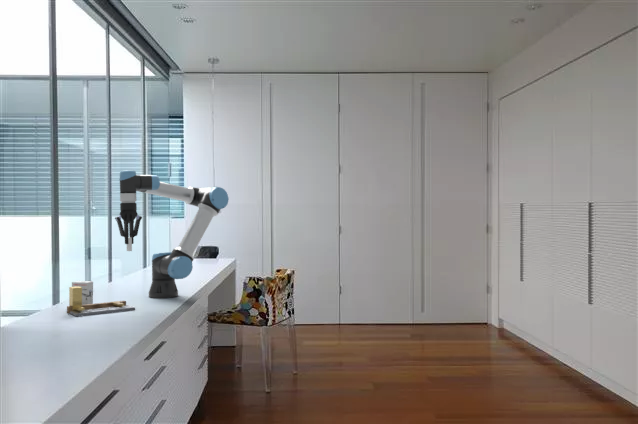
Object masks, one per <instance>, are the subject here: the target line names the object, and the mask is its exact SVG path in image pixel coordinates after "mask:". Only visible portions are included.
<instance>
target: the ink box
mask: <svg viewBox="0 0 638 424" xmlns="http://www.w3.org/2000/svg"><path fill="white" fill-rule="evenodd" d="M78 286H79V287H82V305H85V304H94V281H92V280H75V281H72V282H71V287H78Z"/></svg>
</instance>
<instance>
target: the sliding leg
mask: <svg viewBox="0 0 638 424" xmlns="http://www.w3.org/2000/svg"><path fill="white" fill-rule="evenodd" d="M68 288H69V289H68V290H69V293H68V294H69V295H68V296H69V297H68V298H69V301H68V303H69V304H68V306H72V311H78V310H79V311H82V310H85V308H83V307H82V287H79V286H78V287H72V286H69V287H68Z"/></svg>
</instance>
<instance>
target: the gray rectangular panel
mask: <svg viewBox="0 0 638 424" xmlns="http://www.w3.org/2000/svg"><path fill="white" fill-rule="evenodd" d="M129 310H131V311H135V310H136V307H135V306H133V305H132V306H131V305H129V304H126V305H125V306H122V307H119V306H116V307H106V308H97V309H88V310H82V311H79V310H78V311H70V313H69V314H70V315H72V316H74V317H85V316H93V315H102V314H111V313H112V312H113V313H119V311H122V312H130V311H129ZM113 313H112V314H113Z"/></svg>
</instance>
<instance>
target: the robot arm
mask: <svg viewBox="0 0 638 424" xmlns="http://www.w3.org/2000/svg"><path fill="white" fill-rule="evenodd" d="M118 181H119V201H120V204H119V206H120V207H119V210H120V212H119V215H118V216H115V217H114V219H115V221H116V224H117V227H118V231H119V235H120V237H123V238H124V245H126V252H133V244H134V243H135V241H134V237H137V236H138V233H139V230H140V225H141V224H140V223H141V220H142V219H143V217H142V216H140V215H139V214H138V211H137V210H138V209H137V203H136V202H137V192H139V193H145V194H149V195H154V196H159V197H162V198H168V199H171V200H177V201H182V202H184V203H185V204H187V205H190V206H194V207H197V208H198V210H197V212H196V214H195V215H194V217H193V219H192V221H191V223H190V224H189V226H188V228H187V230H186V232H185V234H184V235H183V237H182V239H181V241H180V243H179V245H178V246H177V247H175V248H173V249H172V251H168V252H157V253H154V254H153V255H151V284H150V286H149V290H148V297H149V298H154V299H165V298H166V299H169V298H175V297H178V296H179V290H178V286H177V284H176V280H182V279H185V278H187V277H188V276H190V274H191V273H192V271H193V269H194V268H193V261H194V256H193V255H194V253H195V251H196V249H197V248H198V246H199V243H200V242H201V240H202V239H203V238H204V237H203V236H204V235H205V233H206V231H207V229H208V227H209V225H210V224H211V222H212V220H213V218H214V217H217V216H218V215H219V213H220V211H221V210H223V209H224V208H226V207H227V206H228V205H229V198H230V197H229V194H228V192H227V191H226V189H224V188H223V187H221V186H212V187H208V186H207V187H193V186H189V187H184V186H182V185H181V186H180V185H177V184H172V183H167V182H164V181H161V179H160V177H159V176H158V175H154V174H137V172H136V170H134V169H133V170H132V169H131V170H129V169H128V170H127V169H125V170H120V172H119V180H118ZM122 220H123V222H122ZM134 223H135V224H134Z"/></svg>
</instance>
